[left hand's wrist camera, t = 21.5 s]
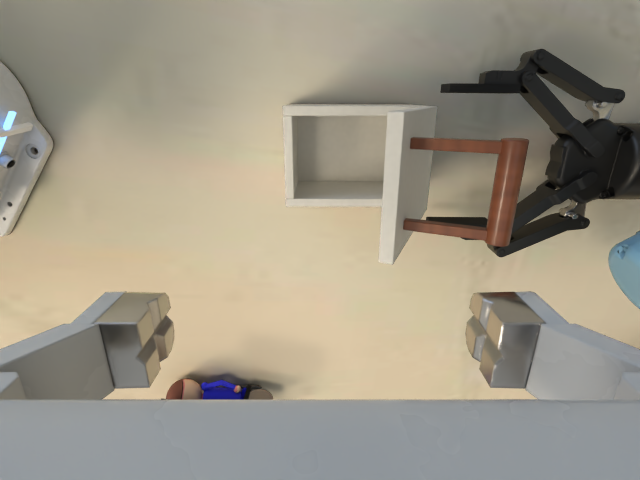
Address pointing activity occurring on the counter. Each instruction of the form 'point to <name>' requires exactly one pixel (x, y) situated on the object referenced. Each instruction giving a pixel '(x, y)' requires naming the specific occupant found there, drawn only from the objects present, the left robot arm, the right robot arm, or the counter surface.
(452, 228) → the lid
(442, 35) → the counter surface
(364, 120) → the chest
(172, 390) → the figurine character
